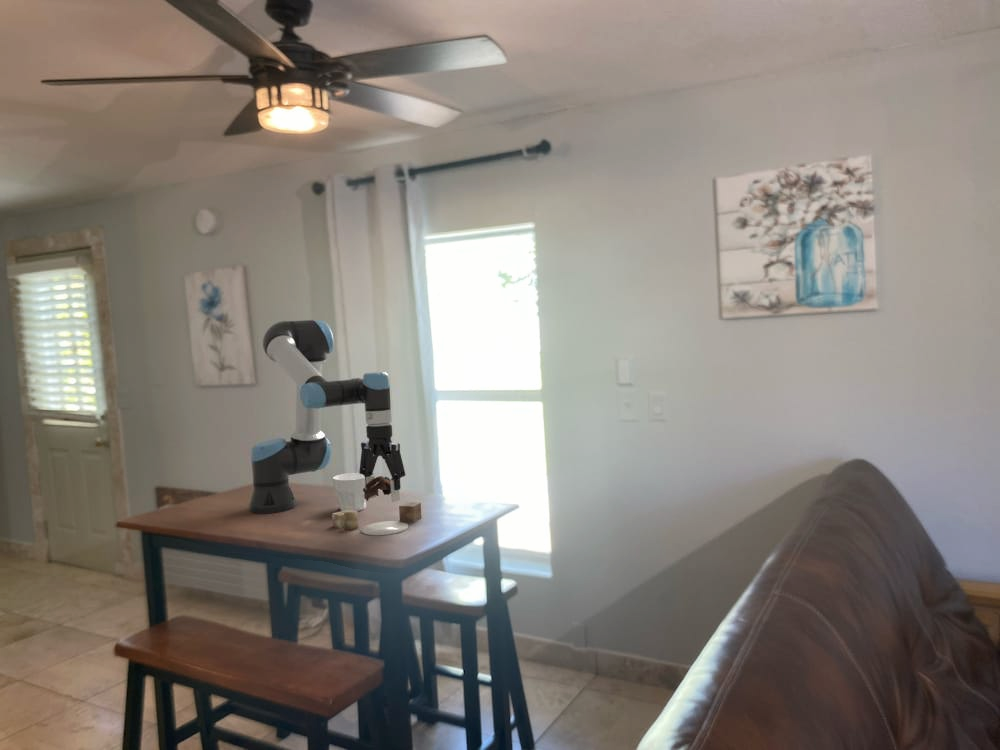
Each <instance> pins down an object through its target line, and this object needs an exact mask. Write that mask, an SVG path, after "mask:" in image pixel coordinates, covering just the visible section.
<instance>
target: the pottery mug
mask: <svg viewBox="0 0 1000 750" xmlns="http://www.w3.org/2000/svg"><path fill="white" fill-rule="evenodd" d="M390 480H391V479H390V477H388V476H383V475H380V476H376V477H375V478H374V479H373V480H371V481H370V482H369V483H368V484H366V486H365V488H364V489H363V492H364V493H365V494H364V498H365V499H366V502H369V500H370V499H369V497H372V496H375V495H376V497H379V490H381V491H382V493H383V495H384V496H385V495H387V496H388V495H391V482H390ZM374 485H375V486H374ZM372 486H373V487H372Z"/></svg>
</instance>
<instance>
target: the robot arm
mask: <svg viewBox="0 0 1000 750" xmlns="http://www.w3.org/2000/svg"><path fill="white" fill-rule="evenodd" d="M262 347H263V351H264V353H265V354H266V357H268V358H269V359H270V360H271V361H272V362H274V363H277V364H278V365H279V366H280V367H281V369H282V370H283V371H284V372H285V373H286V374H287V375H288V377H289V378H291V380H292V381H293V383H294V384H295V423H294V424H295V426H294V427H295V430H294V431H293V432H291V434H290V441H287V440H286V438H281V437H279V438H274V439H273V438H272V439H271V438H270V439H266V440H264V441H263V440H262V441H260V442H258V443H256V444H254V445H253V446H252V447H251V457H250V460H251V469H252V472H251V473H252V481H253V482H252V484H253V489H252V494H251V497H250V501H249V505H248V506H249V512H250V513H254V514H275V513H281V512H284V511H288V510H292V509H293V508H295V507H296V499H295V496H294V493H293V491H292V489H291V487H290V484H289V483H290V482H289V481H290V480H289V476H292V475H293V476H294V475H298V474H304V473H310V472H311V473H314V472H316V471H320V470H323V469H325V468H326V467H327V466H328V464H329V462H330V460H331V454H332V448H331V442H330V440H329V439H328V438H327V437H326V436H325V435H326V434H325V433H324V431H322V430H321V424H322V422H321V421H322V419H321V418H322V415H321V414H322V409H323V408H329V407H330V408H331V407H337V406H347V405H348V406H349V405H358V404H364V411H365V424H366V425H367V426H366V428H365V429H366V438H367V439H368V441H364V442H361V443H360V447H361V452H360V453H361V454H360V463H359V470H358V471H359V472H358V473H360V474H363V475H364V476H365V485H366V484H368V483H369V482H370V481H371V480H373V479H374V478H376V477H375V475H374V470H375V467H376V464H377V461H378V457H381V458H382V459H383V460H384V462H385V465H386V466H387V469H388V472H389V474H390V476H391V479H390V482H391V493H390V497H391V502H393V503H394V502H398V501H400V500H401V498H400V490H401V487H402V486H401V478H404V477H405V476H406V471H405V466H404V463H403V458H402V455H401V444H400V443H399V442H397V443H393V442H392V441H393V440H392V437H393V425H392V424H391V423H392V421H393V420H392V409H391V407H392V405H391V388H390V387H391V385H390V378H389V374H388V373H387V372H385V371H382V372H380V371H375V372H367V373H364V374H363V376H362V378H360V377H356V378H350V379H342V380H329V381H328V379H326V378H325V377H324V376H323V373H322V372H323V370H322V369H323V364H324V363H325V362H326V361H327V358H328V356H327V355H329V354H331V353H332V352H333V349H334V347H335V341H334V336H333V331H332V330H331V327H330V326H329V324H328V323H327V322H326V321H323V320H315V319H309V320H306V319H305V320H290V321H289V320H282V321H278V322H276V323H274V324H273V325H271V326H270V327H269V328H268V329H267V330H266V331H265V333H264V335H263V339H262ZM375 485H376V484H375ZM375 485H374V486H375ZM372 487H373V486H372ZM376 497H377V496H376V495H375V496H372V497H369V500H370V499H373V498H376Z"/></svg>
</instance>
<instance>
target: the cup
mask: <svg viewBox="0 0 1000 750" xmlns="http://www.w3.org/2000/svg"><path fill="white" fill-rule="evenodd" d="M332 481H333V487H334V491H335V492H336V494H337V499H338V502H339V506H340V507H339V508H340V511H345V510H355V511H357V512H359V511H363V510H365V509H366V508H367V500H366V499H365V498H364V494H365V493H364V492H363V489H364V488H365V486H366V485H365V476H364V475H363V474H360V473H359V472H348V473H341V474H338V475H335V476H333V477H332Z"/></svg>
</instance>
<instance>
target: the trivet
mask: <svg viewBox="0 0 1000 750" xmlns="http://www.w3.org/2000/svg"><path fill="white" fill-rule="evenodd" d="M408 529H409V524H408V522H400V521H397V520H393V521H392V520H391V521H387V520H386V521H379V522H373V523H369V524H367V525H366V524H365V525H364V526H363V527H361V529H360V532H361V533H362V534H363V533H364V535H368V536H379V537H380V536H391V535H395V534H396V535H397V534H400V533H402V532H405V531H407V530H408Z"/></svg>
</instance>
